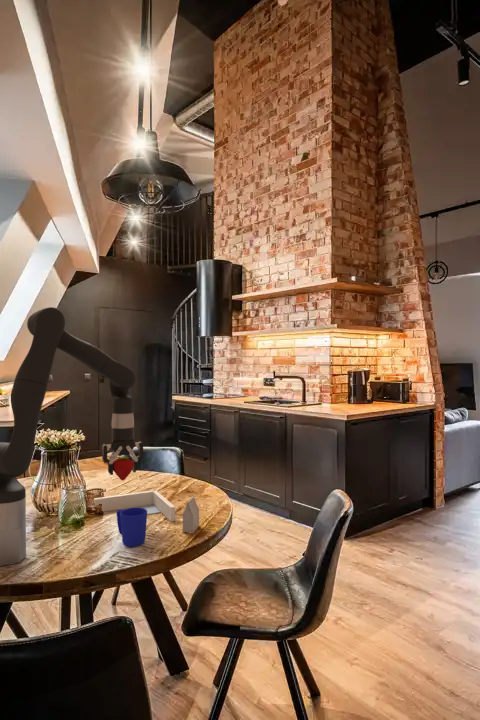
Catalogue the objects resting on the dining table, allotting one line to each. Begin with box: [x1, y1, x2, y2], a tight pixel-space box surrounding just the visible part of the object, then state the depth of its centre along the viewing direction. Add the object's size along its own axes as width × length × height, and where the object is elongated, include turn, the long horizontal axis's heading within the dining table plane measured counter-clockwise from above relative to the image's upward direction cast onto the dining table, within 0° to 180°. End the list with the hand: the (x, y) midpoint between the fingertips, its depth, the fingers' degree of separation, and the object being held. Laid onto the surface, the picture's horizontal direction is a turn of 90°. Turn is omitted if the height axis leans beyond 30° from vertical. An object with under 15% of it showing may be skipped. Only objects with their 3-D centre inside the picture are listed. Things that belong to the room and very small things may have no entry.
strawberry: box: [112, 455, 134, 481], centre depth 163 cm, size 6×8×10 cm
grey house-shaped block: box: [182, 496, 200, 534], centre depth 157 cm, size 4×7×10 cm, turn 169°
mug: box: [116, 507, 148, 548], centre depth 146 cm, size 8×12×10 cm
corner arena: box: [93, 489, 176, 523], centre depth 171 cm, size 24×24×5 cm
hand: (123, 473), depth 163 cm, fingers closed on strawberry, 7 cm apart
